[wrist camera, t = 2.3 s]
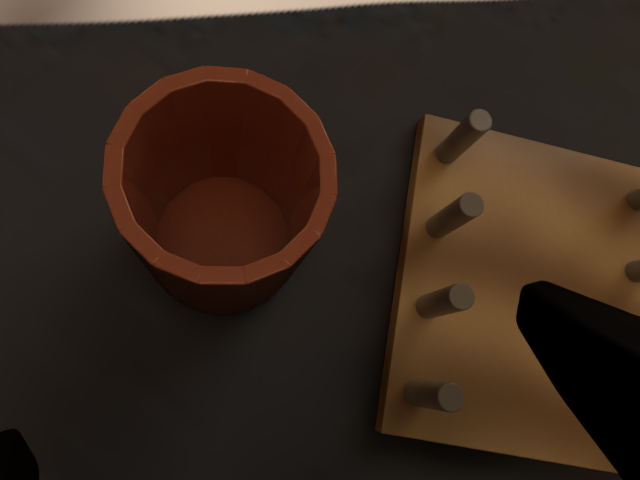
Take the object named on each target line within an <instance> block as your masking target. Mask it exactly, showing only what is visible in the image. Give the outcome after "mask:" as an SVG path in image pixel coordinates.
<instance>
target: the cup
mask: <svg viewBox="0 0 640 480" xmlns="http://www.w3.org/2000/svg"><path fill="white" fill-rule="evenodd" d="M102 188H103V194H104V196H105V199H106V201H107V204H108V207H109V209H110V212H111V215H112V217H113V220H114V223H115V225H116V228H117V230H118V232H119V233H120V235H121V236H122V237H123V239H124V240H125V241H126V243H127V244H128V245H129V246H130V248H131V249H132V250H133V252H134V253H135V254H136V255H137V257H138V258H139V259H140V261H141V262H142V263H143V265H144V266H145V267H146V268H147V270H148V271H149V272H150V274H151V275H152V276H153V277H154V279H155V280H156V281H157V282H158V283H159V284H160V285H161V286H162V287H163V288H164V289H165V290H166V292H167V293H168V294H170V295H171V296H172V297H173V298H174V299H175V300H176V301H178V302H179V303H181V304H183V305H185V306H187V307H189V308H191V309H193V310H196V311H199V312H203V313H208V314H215V315H228V314H236V313H241V312H244V311H247V310H250V309H253V308H255V307H257V306H259V305H261V304H262V303H264V302H266V301H268V300H269V299H270V298H271V297H272V296H273V295H274V294H275V293H276V292H277V291H278V290H279V289H280V288H281V287H282V286H283V285H284V284H285V283H286V282H287V281H288V279H289V278H290V277H291V276H292V274H293V273H294V272H295V270H296V269H297V268H298V266H299V265H300V264H301V262H302V261H303V260H304V259H305V257H306V256H307V255H308V253H309V252H310V251H311V249H312V248H313V247H314V246H315V244H316V243H317V242H318V240H319V239H320V238H321V236H322V235H323V232H324V230H325V227H326V225H327V222H328V220H329V217H330V215H331V212H332V210H333V207H334V205H335V202H336V200H337V195H338V190H337V157H336V153H335V151H334V148H333V146H332V144H331V142H330V140H329V137H328V135H327V133H326V131H325V129H324V126H323V124H322V122H321V120H320V118H319V117H318V115H317V114H316V113H315V112H314V111H313V110H312V109H311V108H310V107H309V106H308V105H307V104H306V103H305V102H304V101H303V100H302V99H301V98H300V97H299V96H298V95H297V94H296V93H295V92H294V91H292V90H291V89H290V88H289V87H287V86H286V85H284V84H282V83H279V82H277V81H275V80H273V79H270V78H268V77H266V76H264V75H261V74H259V73H257V72H255V71H252V70H248V69H245V68H231V67H217V66H205V67H204V66H201V67H197V68H194V69H191V70H187V71H184V72H180V73H177V74H173V75H170V76H166V77H163V78H162V79H160V80H158V81H157V82H156V83H154V84H153V85H152V86H150V87H149V88H148V89H147V90H145V91H144V92H143V93H141V94H140V95H139V96H138V97H136V98H135V99H134V100H132V101H131V102H130V103H129V104H128V105H127V106H126V107H125V109H124V110H123V112H122V114H121V116H120V118H119V120H118V121H117V123H116V125H115V127H114V129H113V130H112V132H111V134H110V136H109V138H108V139H107V141H106V145H105V151H104V164H103V178H102Z"/></svg>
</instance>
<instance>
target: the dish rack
mask: <svg viewBox="0 0 640 480" xmlns="http://www.w3.org/2000/svg"><path fill="white" fill-rule="evenodd" d="M491 127H492V118H491V116H490V114H489V113H488V112H487V111H485V110H483V109H475V110H473V111H471V112H470V114H469V115H468V116H467V117H466V118H465V119H464V120H463V121H462V122H457V121H453V120H449V119H445V118H441V117H437V116H433V115H429V114H424V116H423V117H422V118H421V119H420V121H419V122H418V124H417V131H416V138H415V145H414V152H413V159H412V167H411V174H410V181H409V188H408V195H407V202H406V209H405V217H404V224H403V231H402V238H401V245H400V252H399V259H398V266H397V274H396V281H395V288H394V295H393V302H392V309H391V316H390V324H389V331H388V338H387V345H386V352H385V359H384V366H383V374H382V381H381V388H380V395H379V402H378V409H377V416H376V424H375V431H378V432H380V433H383V434H389V435H394V436H400V437H406V438H412V439H418V440H424V441H430V442H435V443H441V444H447V445H453V446H459V447H465V448H471V449H476V450H482V451H488V452H494V453H500V454H506V455H512V456H517V457H523V458H529V459H535V460H541V461H547V462H553V463H558V464H564V465H570V466H576V467H582V468H588V469H594V470H599V471H605V472H611V473H617V474H618V472H617V471H616V470H615V468H614V467H613V466H612V464H611V463H610V462H609V460H608V459H607V458H606V456H605V455H604V454H603V452H602V451H601V450H600V449H599V447H598V446H597V445H596V443H595V442H594V441H593V439H592V438H591V437H590V435H589V434H588V433H587V431H586V430H585V429H584V427H583V426H582V425H581V423H580V422H579V421H578V419H577V418H576V417H575V415H574V414H573V413H572V411H571V410H570V409H569V407H568V406H567V405H566V403H565V402H564V401H563V399H562V398H561V396H560V395H559V394H558V392H557V391H556V389H555V387H554V386H553V384H552V383H551V381H550V380H549V378H548V376H547V375H546V373H545V371H544V370H543V368H542V366H541V365H540V363H539V361H538V360H537V358H536V357H535V355H534V353H533V352H532V350H531V348H530V347H529V345H528V343H527V342H526V340H525V338H524V337H523V335H522V333H521V332H520V330H519V328H518V326H517V322H516V313H517V307H518V302H519V297H520V291H521V289H522V287H523V286H524V285H526V284H529V283H532V282H536V281H539V280H545V281H548V282H551V283H553V284H556V285H559V286H561V287H564V288H566V289H569V290H572V291H574V292H577V293H580V294H582V295H585V296H587V297H590V298H593V299H595V300H598V301H600V302H603V303H606V304H608V305H611V306H613V307H616V308H619V309H621V310H624V311H627V312H629V313H632V314H634V315H637V316H640V168H639V167H635V166H631V165H627V164H623V163H619V162H615V161H611V160H607V159H603V158H599V157H595V156H591V155H587V154H583V153H579V152H575V151H571V150H567V149H563V148H560V147H556V146H552V145H548V144H544V143H540V142H536V141H532V140H528V139H524V138H520V137H516V136H512V135H508V134H504V133H500V132H496V131H492V130H490V129H491Z"/></svg>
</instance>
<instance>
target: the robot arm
mask: <svg viewBox="0 0 640 480" xmlns="http://www.w3.org/2000/svg"><path fill="white" fill-rule="evenodd" d="M516 322H517V326H518V328H519V330H520V332H521V333H522V335H523V337H524V338H525V340H526V342H527V343H528V345H529V347H530V348H531V350H532V352H533V353H534V355H535V357H536V358H537V360H538V361H539V363H540V365H541V366H542V368H543V370H544V371H545V373H546V375H547V376H548V378H549V380H550V381H551V383H552V384H553V386H554V387H555V389H556V391H557V392H558V394H559V395H560V396H561V398H562V399H563V401H564V402H565V403H566V405H567V406H568V407H569V409H570V410H571V411H572V413H573V414H574V415H575V417H576V418H577V419H578V421H579V422H580V423H581V425H582V426H583V427H584V429H585V430H586V431H587V433H588V434H589V435H590V437H591V438H592V439H593V441H594V442H595V443H596V445H597V446H598V447H599V449H600V450H601V451H602V452H603V454H604V455H605V456H606V458H607V459H608V460H609V462H610V463H611V464H612V466H613V467H614V468H615V470H616V471H617V472H618V474H619V475H620V476H621V478H622V479H623V480H640V316H637V315H634V314H632V313H629V312H627V311H624V310H621V309H619V308H616V307H613V306H611V305H608V304H606V303H603V302H600V301H598V300H595V299H593V298H590V297H587V296H585V295H582V294H580V293H577V292H574V291H572V290H569V289H566V288H564V287H561V286H559V285H556V284H553V283H551V282H548V281H545V280H539V281H536V282H532V283H529V284H526V285H524V286H523V287H522V289H521V291H520V297H519V302H518V307H517V313H516ZM0 480H39V468H38V464H37V461H36V458H35V457H34V455H33V453H32V452H31V450H30V448H29V447H28V445H27V443H26V441H25V440H24V438H23V436H22V435H21V433H20V432H19V431H18V430H17V429H9V430H5V431H2V432H0Z"/></svg>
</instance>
